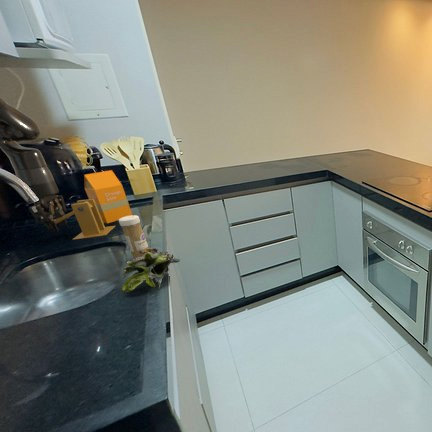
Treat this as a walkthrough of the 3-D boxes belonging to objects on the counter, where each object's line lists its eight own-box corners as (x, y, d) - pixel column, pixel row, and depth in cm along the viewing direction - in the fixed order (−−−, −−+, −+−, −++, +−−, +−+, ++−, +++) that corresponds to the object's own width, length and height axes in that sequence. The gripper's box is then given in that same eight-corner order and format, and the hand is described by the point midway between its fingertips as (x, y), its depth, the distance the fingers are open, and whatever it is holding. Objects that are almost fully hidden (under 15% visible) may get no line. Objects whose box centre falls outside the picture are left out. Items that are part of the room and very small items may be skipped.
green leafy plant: (163, 293, 83) (180, 251, 85) (170, 303, 75) (189, 258, 77) (111, 286, 75) (132, 241, 77) (114, 297, 67) (136, 247, 69)
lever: (52, 228, 100) (45, 222, 98) (60, 223, 104) (54, 217, 103) (88, 209, 102) (82, 203, 100) (94, 205, 106) (89, 199, 105)
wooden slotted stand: (73, 242, 101) (58, 207, 97) (86, 232, 109) (72, 199, 105) (106, 237, 105) (93, 203, 100) (116, 228, 112) (104, 196, 108)
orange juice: (133, 218, 122) (117, 170, 115) (108, 225, 115) (88, 175, 108) (123, 215, 125) (106, 169, 118) (97, 222, 118) (78, 173, 111)
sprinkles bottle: (149, 259, 90) (135, 218, 85) (131, 263, 88) (115, 221, 83) (153, 253, 93) (139, 213, 89) (135, 256, 92) (120, 216, 87)
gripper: (35, 177, 101) (56, 223, 107) (5, 188, 88) (30, 239, 95) (64, 175, 104) (83, 220, 110) (38, 185, 91) (61, 235, 97)
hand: (58, 228), depth 102 cm, fingers closed on lever, 5 cm apart
